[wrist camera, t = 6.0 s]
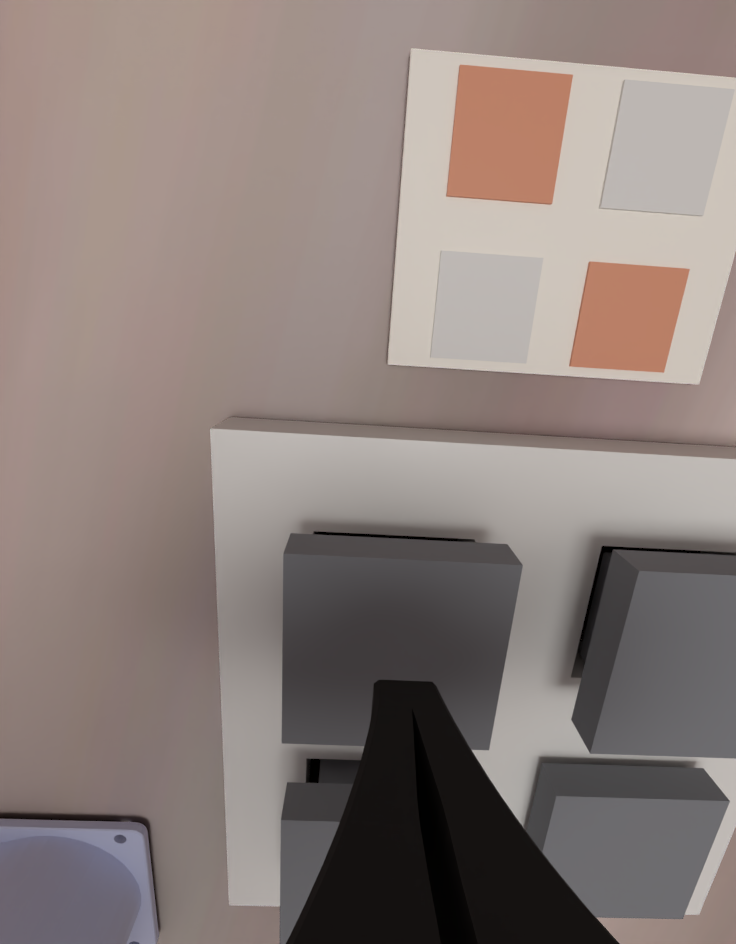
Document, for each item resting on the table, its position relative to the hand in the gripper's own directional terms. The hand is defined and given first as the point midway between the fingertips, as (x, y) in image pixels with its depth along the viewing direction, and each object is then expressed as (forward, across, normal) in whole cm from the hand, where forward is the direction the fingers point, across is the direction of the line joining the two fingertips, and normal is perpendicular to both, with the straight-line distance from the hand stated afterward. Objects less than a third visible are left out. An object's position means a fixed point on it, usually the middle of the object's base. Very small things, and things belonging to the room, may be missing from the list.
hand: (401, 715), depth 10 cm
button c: (+5, 0, 0) cm, 5 cm away
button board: (+6, -4, +4) cm, 9 cm away
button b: (+6, -9, +9) cm, 14 cm away
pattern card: (+6, -4, -12) cm, 14 cm away
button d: (+5, -9, 0) cm, 10 cm away
